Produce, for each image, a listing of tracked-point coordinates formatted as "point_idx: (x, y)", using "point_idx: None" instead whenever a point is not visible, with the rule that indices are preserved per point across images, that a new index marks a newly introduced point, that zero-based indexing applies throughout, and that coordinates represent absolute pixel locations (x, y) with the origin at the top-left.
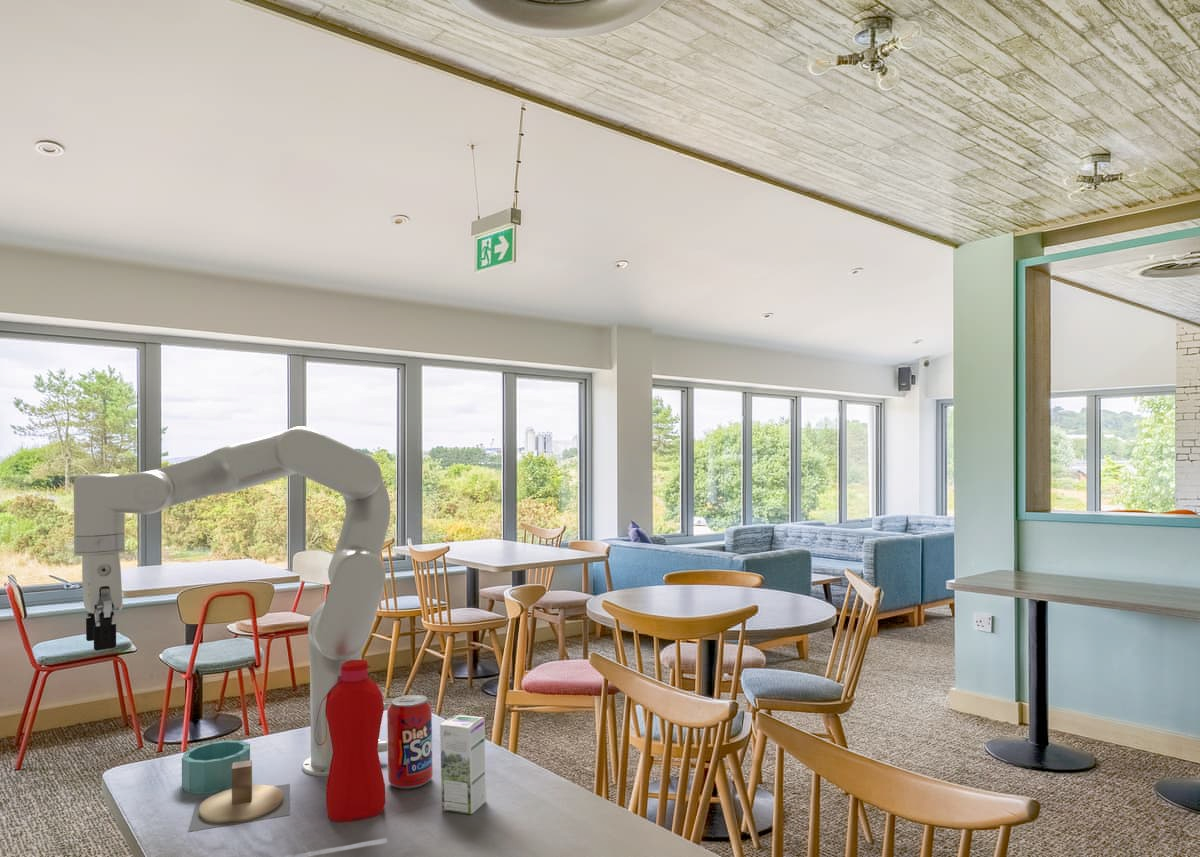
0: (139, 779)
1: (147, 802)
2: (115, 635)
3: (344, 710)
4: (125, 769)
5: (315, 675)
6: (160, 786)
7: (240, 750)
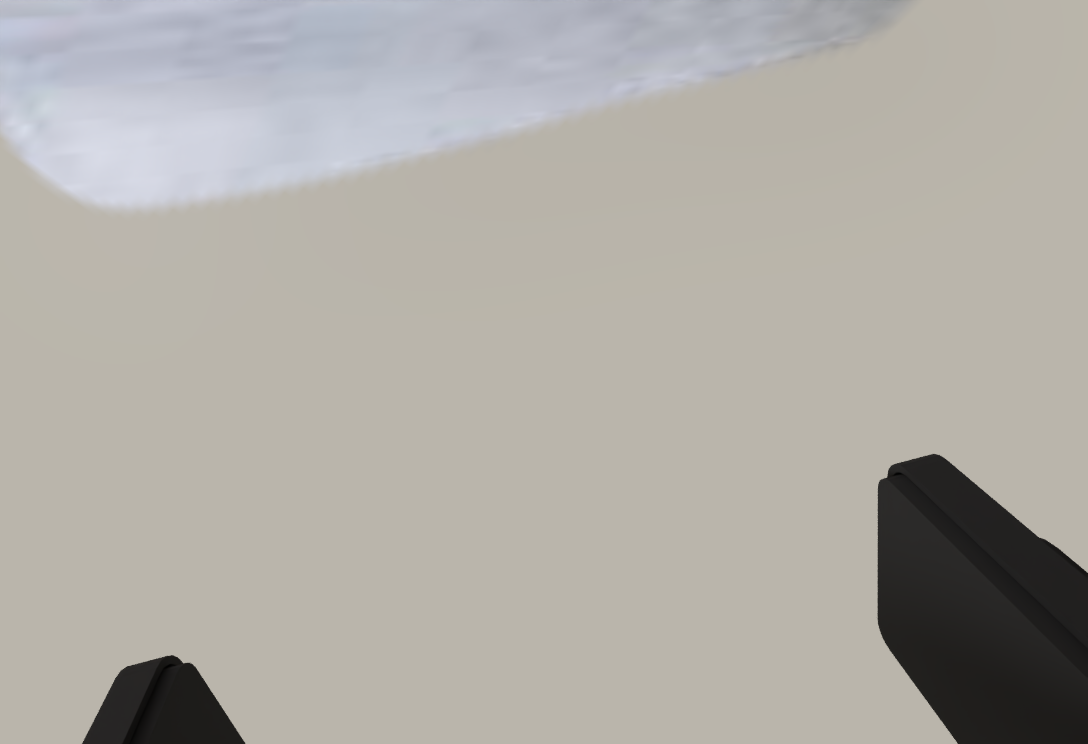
0: (216, 97)
1: (499, 47)
2: (1046, 557)
3: None
4: (62, 165)
5: None
6: (338, 4)
7: None
